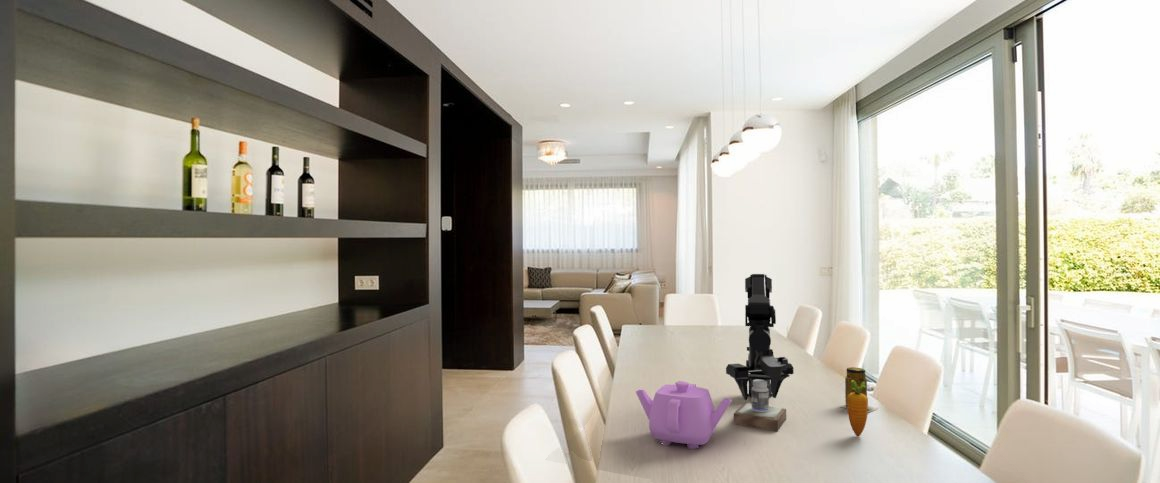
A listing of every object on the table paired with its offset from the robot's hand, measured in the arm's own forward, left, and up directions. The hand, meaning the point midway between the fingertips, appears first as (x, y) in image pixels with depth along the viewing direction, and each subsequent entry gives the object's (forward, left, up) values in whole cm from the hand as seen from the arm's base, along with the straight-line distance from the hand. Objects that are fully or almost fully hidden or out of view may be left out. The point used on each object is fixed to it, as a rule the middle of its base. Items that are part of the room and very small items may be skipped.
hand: (760, 398), depth 154 cm
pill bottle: (0, 0, -3) cm, 3 cm away
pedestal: (0, 0, -6) cm, 6 cm away
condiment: (+15, +34, -7) cm, 38 cm away
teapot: (-7, -28, -7) cm, 30 cm away
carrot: (+24, +7, -7) cm, 26 cm away
